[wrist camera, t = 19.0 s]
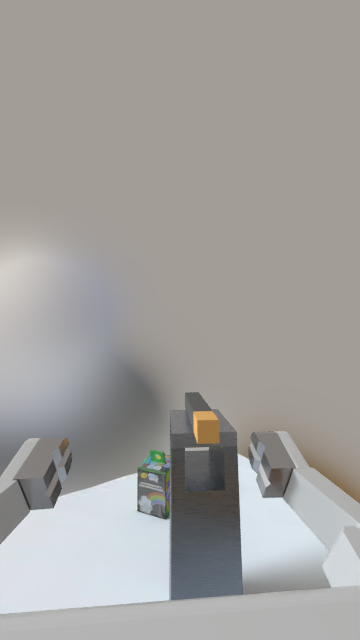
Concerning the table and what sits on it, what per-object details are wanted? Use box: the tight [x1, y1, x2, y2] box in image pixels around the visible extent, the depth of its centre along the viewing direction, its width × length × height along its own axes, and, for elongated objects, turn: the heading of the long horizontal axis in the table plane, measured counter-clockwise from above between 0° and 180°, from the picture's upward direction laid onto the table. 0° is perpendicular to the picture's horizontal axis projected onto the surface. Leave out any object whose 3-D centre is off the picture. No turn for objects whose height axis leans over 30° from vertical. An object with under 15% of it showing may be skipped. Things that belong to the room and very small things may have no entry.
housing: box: [169, 409, 243, 600], centre depth 35 cm, size 10×12×32 cm
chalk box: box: [138, 450, 170, 519], centre depth 61 cm, size 9×9×15 cm
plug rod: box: [185, 393, 220, 444], centre depth 37 cm, size 3×18×3 cm, turn 4°
